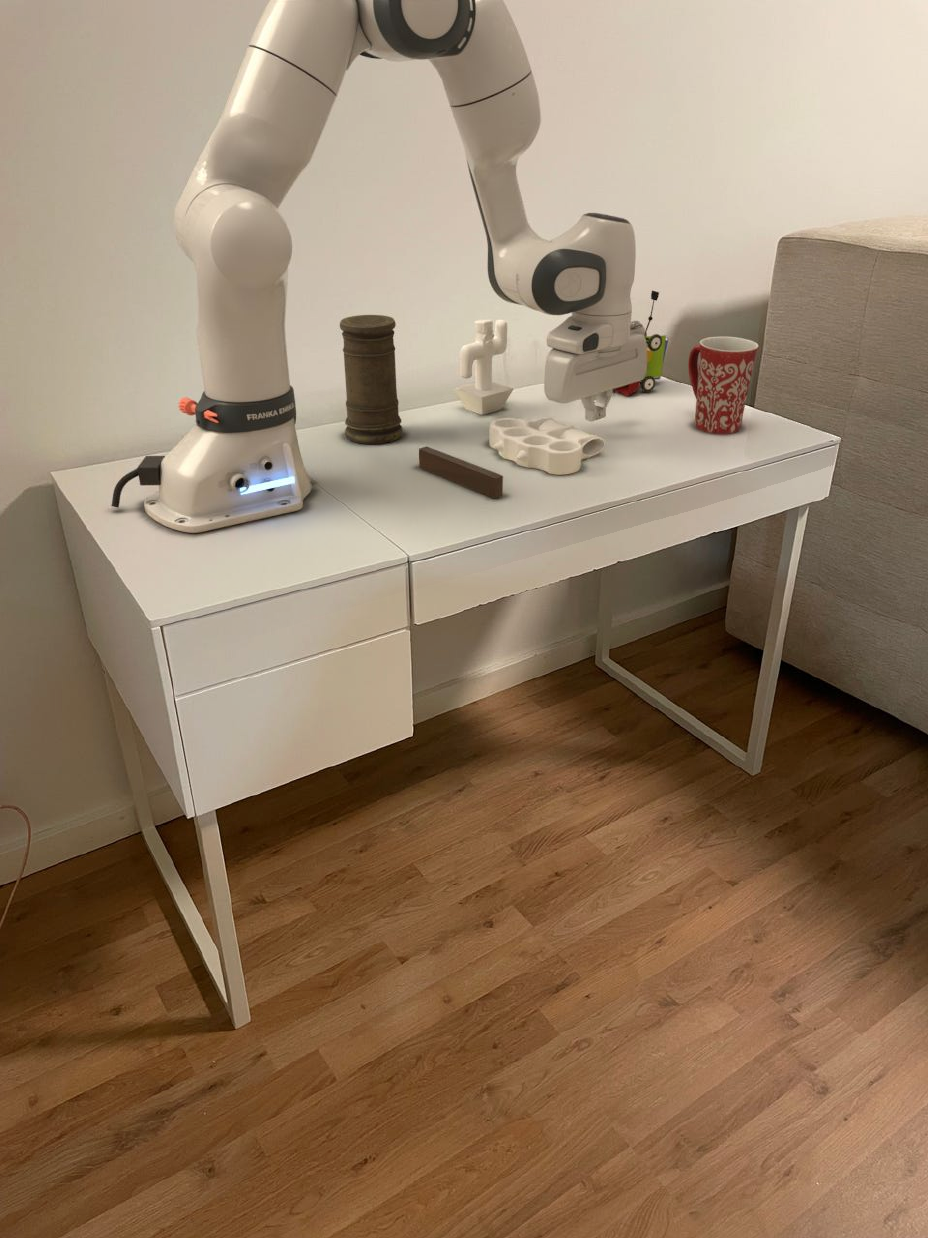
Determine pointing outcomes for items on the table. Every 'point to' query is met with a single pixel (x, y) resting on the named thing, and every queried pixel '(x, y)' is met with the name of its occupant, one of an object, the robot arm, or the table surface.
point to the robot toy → (649, 360)
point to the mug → (721, 382)
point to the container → (370, 379)
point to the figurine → (483, 369)
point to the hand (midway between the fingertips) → (595, 418)
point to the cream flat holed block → (543, 444)
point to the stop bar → (461, 472)
